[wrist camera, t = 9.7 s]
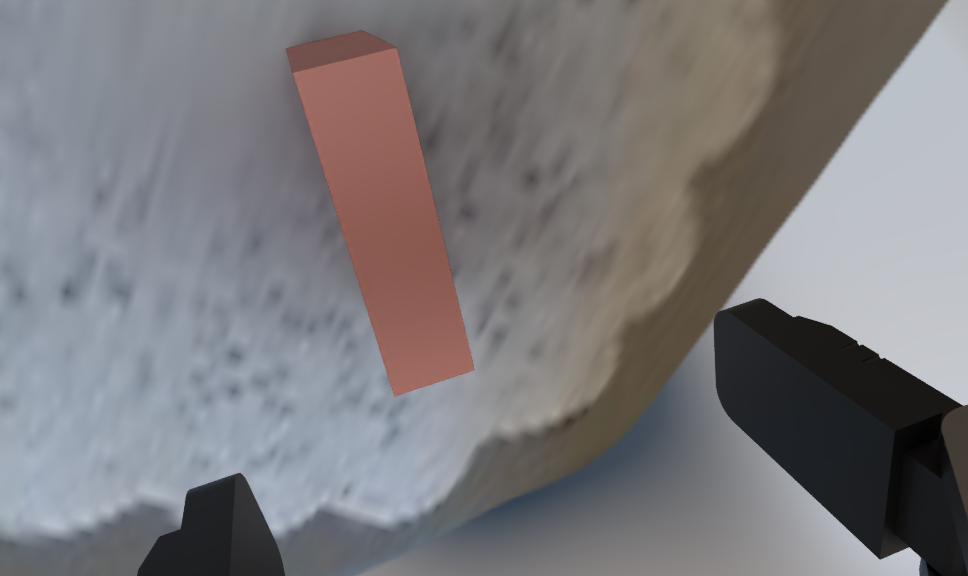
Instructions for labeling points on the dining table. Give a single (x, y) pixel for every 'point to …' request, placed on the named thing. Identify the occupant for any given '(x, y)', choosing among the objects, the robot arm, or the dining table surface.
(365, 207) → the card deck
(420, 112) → the dining table surface
